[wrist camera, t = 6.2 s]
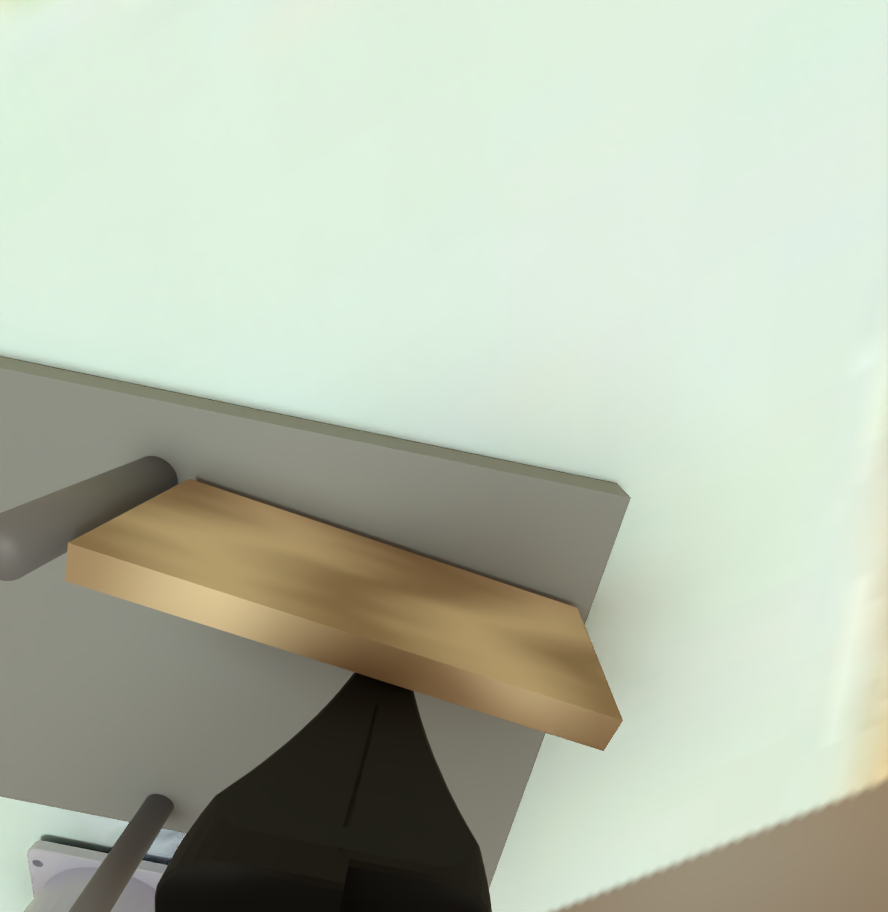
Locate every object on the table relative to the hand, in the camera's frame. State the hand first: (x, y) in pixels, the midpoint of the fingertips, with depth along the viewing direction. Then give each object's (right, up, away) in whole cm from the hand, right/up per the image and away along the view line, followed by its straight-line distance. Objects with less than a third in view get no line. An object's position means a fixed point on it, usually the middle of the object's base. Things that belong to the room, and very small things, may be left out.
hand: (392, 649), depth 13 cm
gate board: (-7, -1, +3) cm, 8 cm away
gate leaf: (0, +3, 0) cm, 3 cm away
